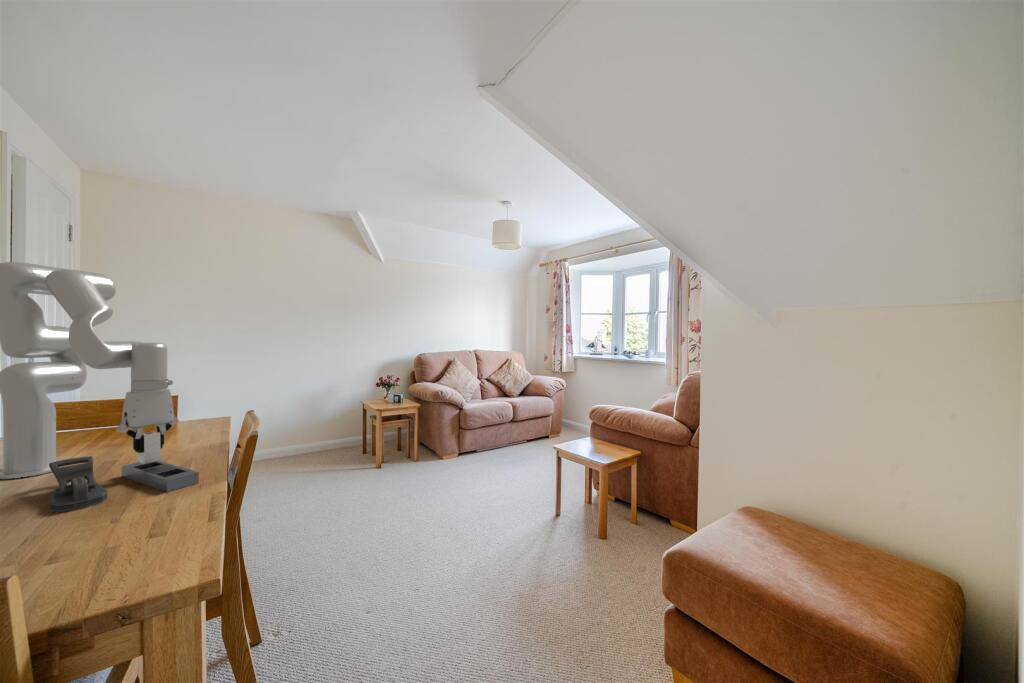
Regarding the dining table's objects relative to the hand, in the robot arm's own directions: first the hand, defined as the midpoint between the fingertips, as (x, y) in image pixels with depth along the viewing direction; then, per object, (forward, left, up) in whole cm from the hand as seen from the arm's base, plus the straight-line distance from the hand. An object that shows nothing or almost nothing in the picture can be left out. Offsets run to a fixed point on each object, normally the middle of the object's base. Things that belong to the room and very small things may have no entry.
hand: (148, 449), depth 109 cm
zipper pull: (0, -14, -8) cm, 16 cm away
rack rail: (+6, 0, -8) cm, 10 cm away
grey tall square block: (0, 0, -3) cm, 3 cm away
